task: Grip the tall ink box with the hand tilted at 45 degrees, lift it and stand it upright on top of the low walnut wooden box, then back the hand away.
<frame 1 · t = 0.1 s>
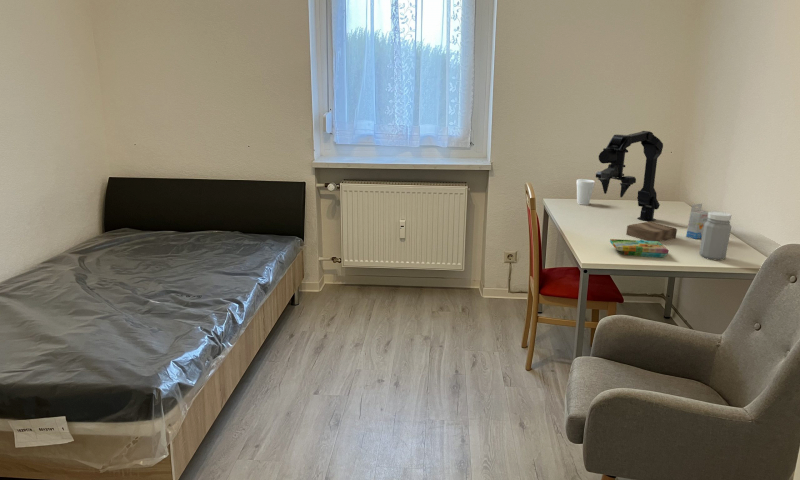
hand: (613, 195, 287), 15 cm above the table, tool pointing down, fingers open, 9 cm apart
walnut box: (650, 237, 274), on the table
foam cup: (582, 204, 337), on the table
jar: (711, 257, 245), on the table
ink box: (696, 237, 276), on the table
puzzle game: (637, 253, 248), on the table
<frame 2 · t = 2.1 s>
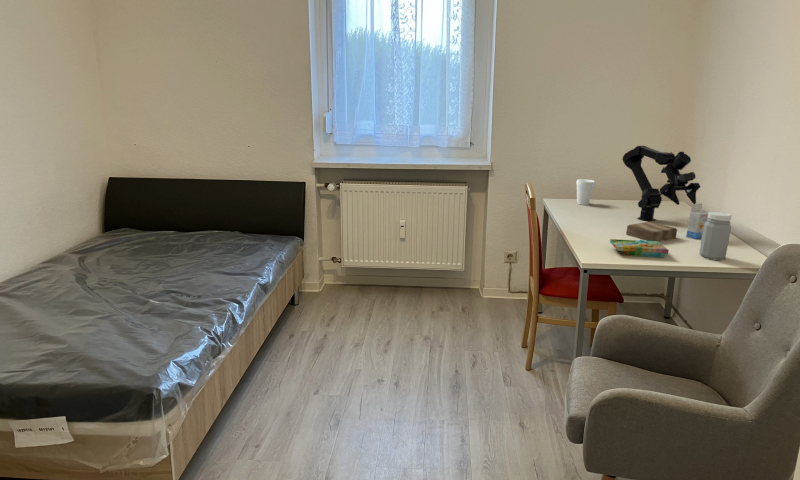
hand: (686, 204, 279), 13 cm above the table, tool tilted 45°, fingers open, 9 cm apart
nothing on the table moved.
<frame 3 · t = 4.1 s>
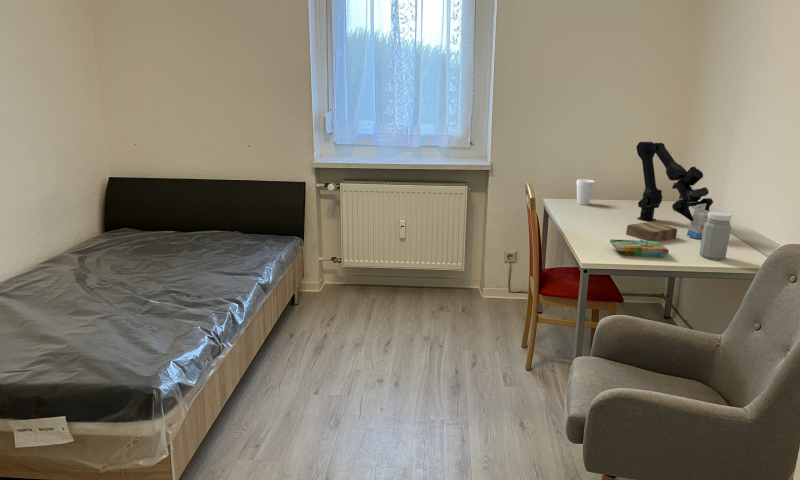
hand: (700, 220, 273), 8 cm above the table, tool tilted 45°, fingers open, 9 cm apart
ink box: (696, 236, 275), on the table, touching gripper
everything else where it was.
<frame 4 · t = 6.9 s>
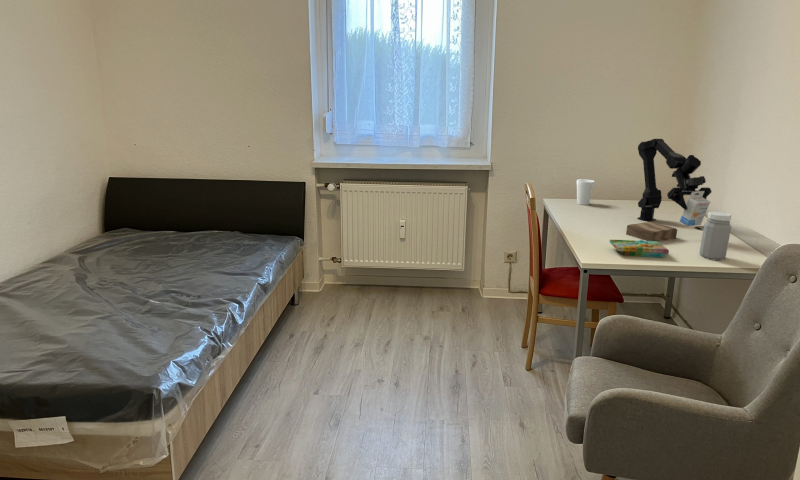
hand: (695, 209, 269), 13 cm above the table, tool tilted 45°, fingers closed on ink box, 9 cm apart
ink box: (690, 223, 273), point 6 cm above the table, touching gripper
everything else where it was.
when the fingers open (13 cm above the table, at t = 9.4 s): ink box moves 1 cm, resting on walnut box.
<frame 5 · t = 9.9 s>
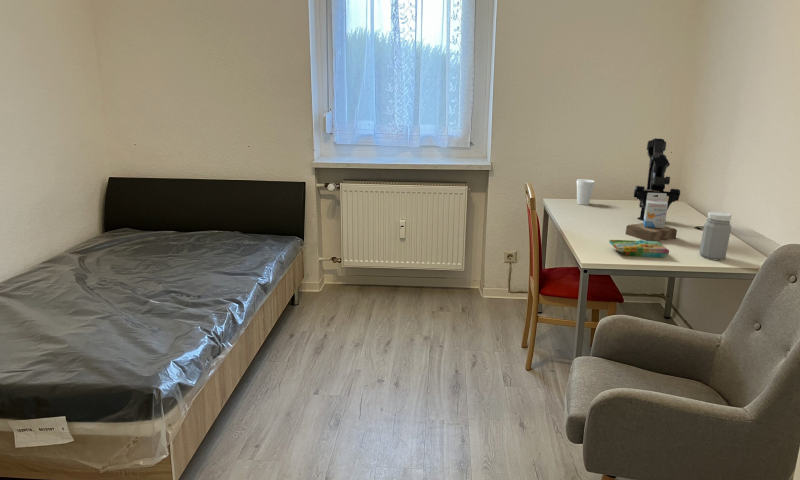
hand: (655, 208, 269), 13 cm above the table, tool tilted 45°, fingers open, 9 cm apart
walnut box: (650, 237, 274), on the table, touching ink box
ink box: (653, 226, 272), point 5 cm above the table, touching gripper, walnut box
everything else where it was.
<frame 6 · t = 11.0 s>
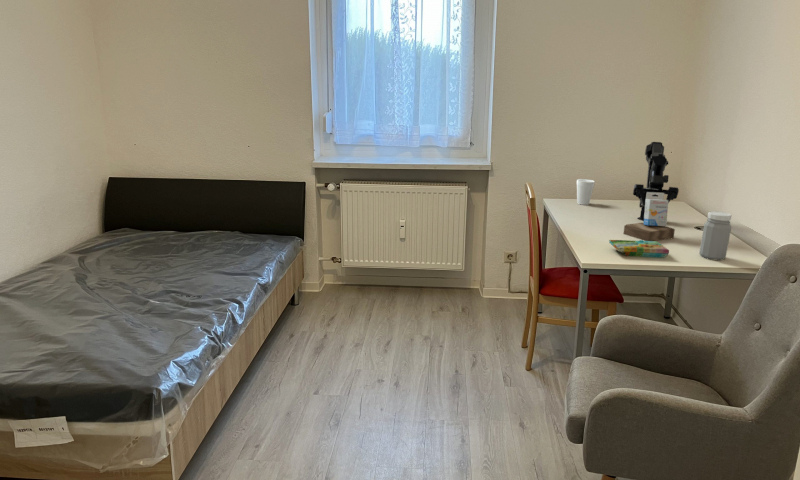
hand: (654, 206, 275), 13 cm above the table, tool tilted 45°, fingers open, 9 cm apart
walnut box: (648, 237, 274), on the table
ink box: (654, 225, 273), point 5 cm above the table
everything else where it was.
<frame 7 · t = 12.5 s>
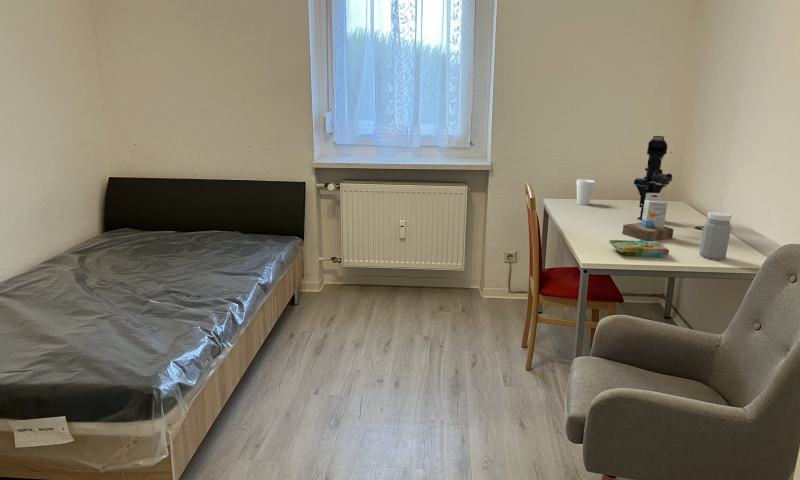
hand: (649, 199, 289), 13 cm above the table, tool pointing down, fingers open, 9 cm apart
walnut box: (646, 237, 274), on the table, touching ink box
ink box: (652, 226, 273), point 4 cm above the table, touching walnut box
everything else where it was.
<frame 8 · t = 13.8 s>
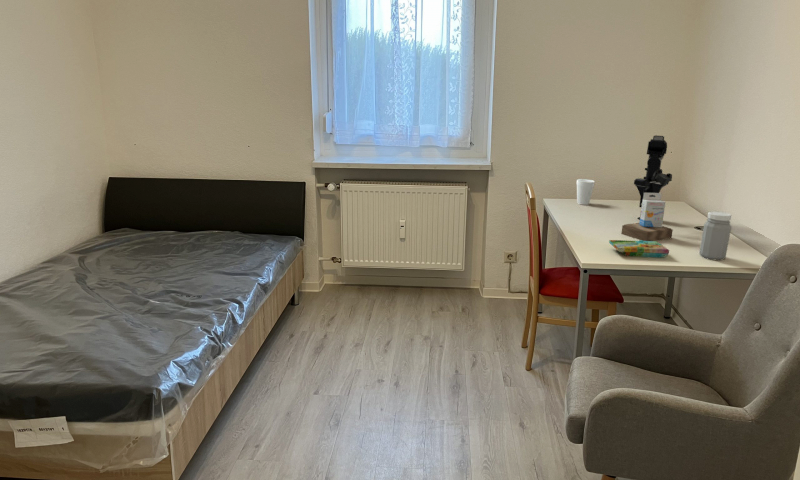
hand: (648, 199, 289), 13 cm above the table, tool pointing down, fingers open, 9 cm apart
walnut box: (645, 237, 274), on the table
ink box: (650, 226, 273), point 4 cm above the table
everything else where it was.
at the end: ink box inside the target area on the walnut box (1.6 cm from its centre), point 4.9 cm above the walnut box's base; ink box tilted 1°; the gripper is holding nothing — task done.
